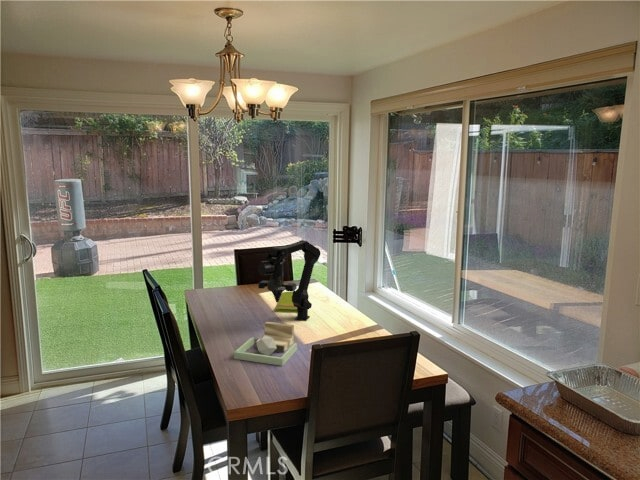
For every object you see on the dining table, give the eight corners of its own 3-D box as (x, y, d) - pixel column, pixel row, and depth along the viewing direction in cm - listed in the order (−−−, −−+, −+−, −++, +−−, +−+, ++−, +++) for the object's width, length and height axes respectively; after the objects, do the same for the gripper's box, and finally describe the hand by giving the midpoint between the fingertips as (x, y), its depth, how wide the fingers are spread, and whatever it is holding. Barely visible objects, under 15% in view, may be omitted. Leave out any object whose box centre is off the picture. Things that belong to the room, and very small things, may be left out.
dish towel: (274, 313, 264) (274, 307, 264) (282, 294, 299) (282, 289, 299) (301, 313, 264) (301, 308, 263) (306, 295, 299) (306, 290, 298)
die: (280, 355, 209) (277, 334, 213) (272, 352, 202) (268, 330, 206) (264, 360, 211) (260, 339, 215) (255, 357, 204) (252, 336, 208)
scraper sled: (266, 338, 227) (266, 321, 226) (294, 342, 223) (293, 325, 221) (255, 348, 215) (254, 330, 214) (283, 352, 211) (283, 334, 209)
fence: (251, 343, 221) (251, 337, 220) (297, 349, 214) (297, 343, 214) (234, 358, 204) (233, 352, 204) (282, 365, 198) (282, 358, 197)
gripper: (253, 274, 232) (253, 304, 234) (289, 277, 227) (289, 308, 229) (262, 269, 242) (262, 298, 245) (297, 272, 237) (296, 302, 240)
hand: (277, 302), depth 239 cm, fingers closed
